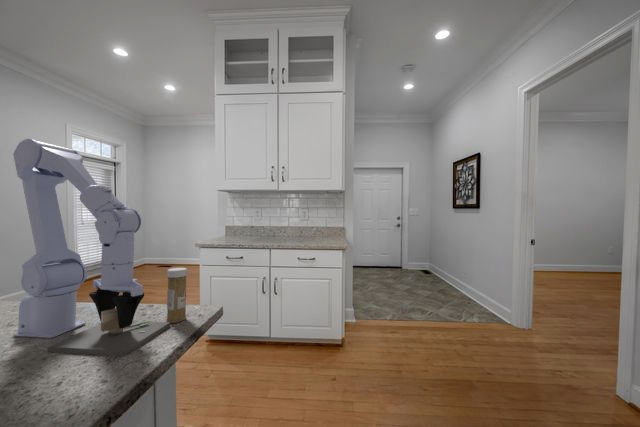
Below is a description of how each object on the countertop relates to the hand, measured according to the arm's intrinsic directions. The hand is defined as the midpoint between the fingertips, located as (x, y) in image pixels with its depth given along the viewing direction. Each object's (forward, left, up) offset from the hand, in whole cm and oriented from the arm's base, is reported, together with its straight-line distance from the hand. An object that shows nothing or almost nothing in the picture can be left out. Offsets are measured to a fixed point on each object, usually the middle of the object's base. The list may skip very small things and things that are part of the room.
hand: (116, 324), depth 59 cm
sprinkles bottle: (+7, +11, -3) cm, 13 cm away
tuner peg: (+1, +2, -2) cm, 3 cm away
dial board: (0, 0, -3) cm, 3 cm away
